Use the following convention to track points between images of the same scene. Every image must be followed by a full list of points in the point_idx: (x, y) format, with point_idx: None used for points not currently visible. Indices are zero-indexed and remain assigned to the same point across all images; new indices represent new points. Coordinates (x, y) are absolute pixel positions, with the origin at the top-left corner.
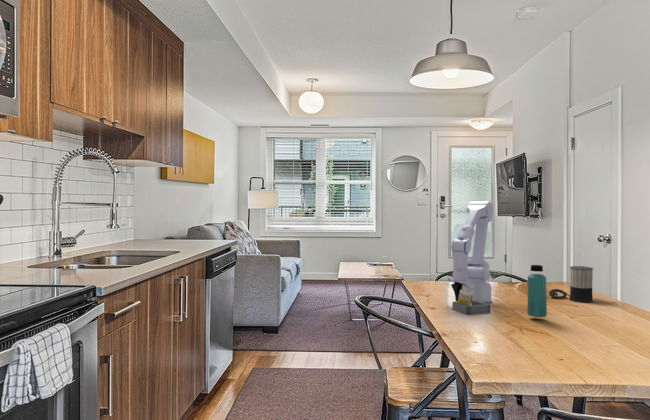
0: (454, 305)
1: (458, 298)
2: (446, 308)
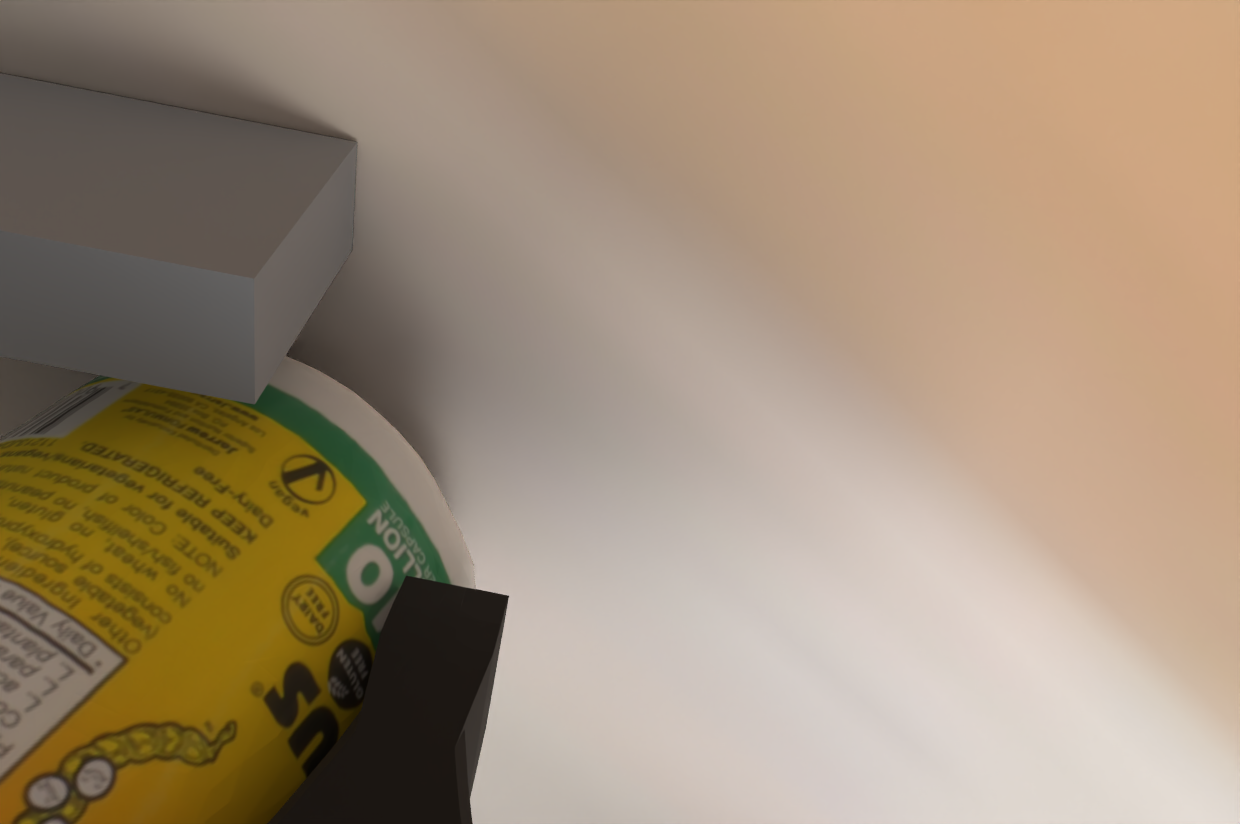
0: (151, 183)
1: (115, 594)
2: (582, 37)
